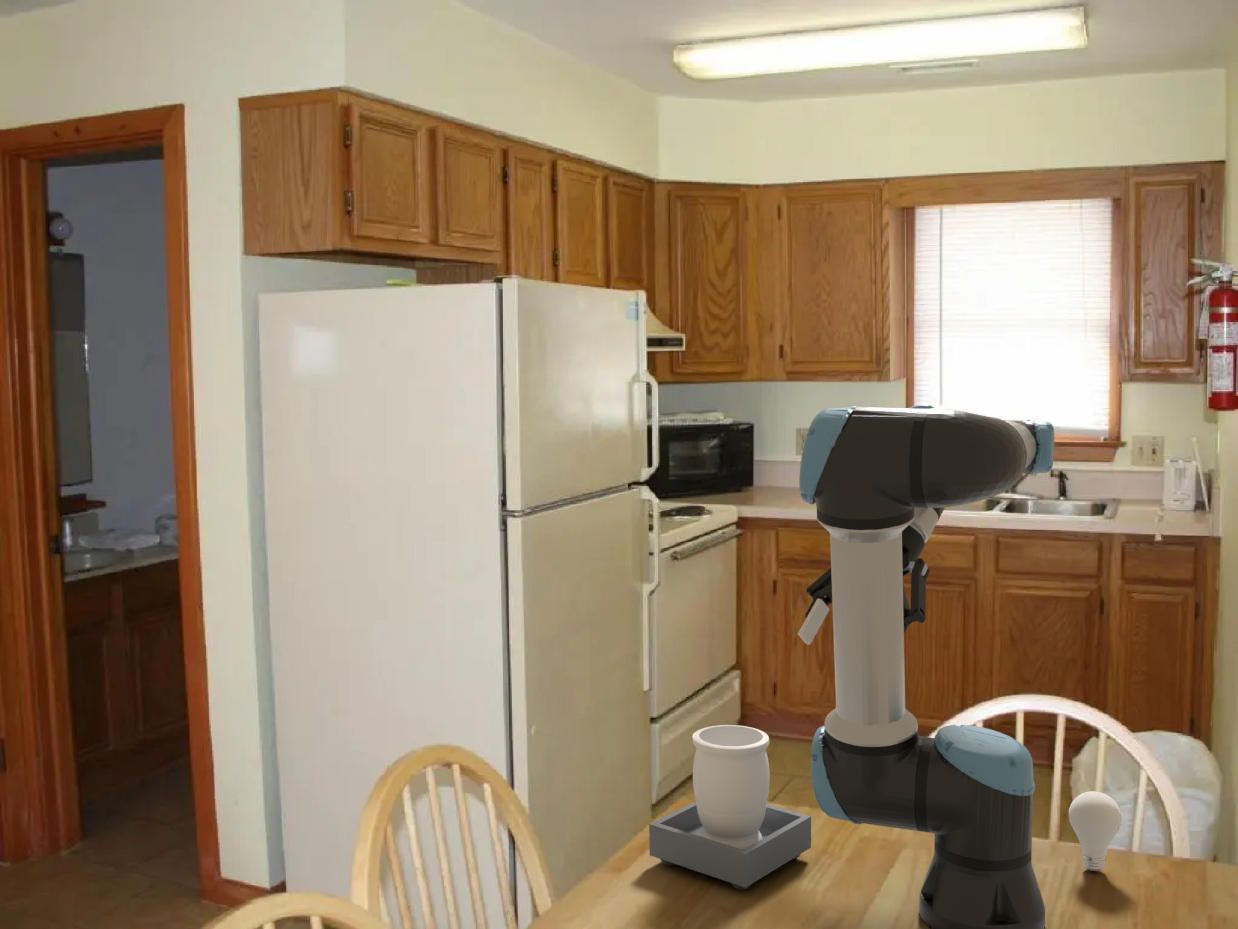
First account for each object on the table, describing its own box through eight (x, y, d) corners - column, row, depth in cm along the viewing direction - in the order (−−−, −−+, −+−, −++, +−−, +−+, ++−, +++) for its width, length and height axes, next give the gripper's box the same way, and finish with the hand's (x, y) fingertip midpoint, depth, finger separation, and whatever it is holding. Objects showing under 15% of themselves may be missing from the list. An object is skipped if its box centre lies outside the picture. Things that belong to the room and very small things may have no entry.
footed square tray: (811, 858, 176) (811, 816, 175) (745, 898, 164) (745, 854, 163) (717, 829, 186) (717, 790, 185) (649, 865, 174) (649, 824, 173)
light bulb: (1061, 874, 169) (1063, 795, 168) (1074, 856, 175) (1076, 780, 173) (1112, 886, 166) (1115, 806, 164) (1125, 868, 171) (1127, 790, 170)
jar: (680, 847, 173) (679, 741, 171) (711, 820, 182) (710, 720, 180) (753, 862, 168) (752, 753, 166) (780, 833, 177) (780, 730, 175)
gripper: (985, 557, 183) (923, 679, 175) (848, 537, 201) (786, 646, 193) (964, 526, 178) (899, 649, 170) (827, 508, 197) (763, 618, 189)
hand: (839, 648), depth 182 cm, fingers open, 13 cm apart
